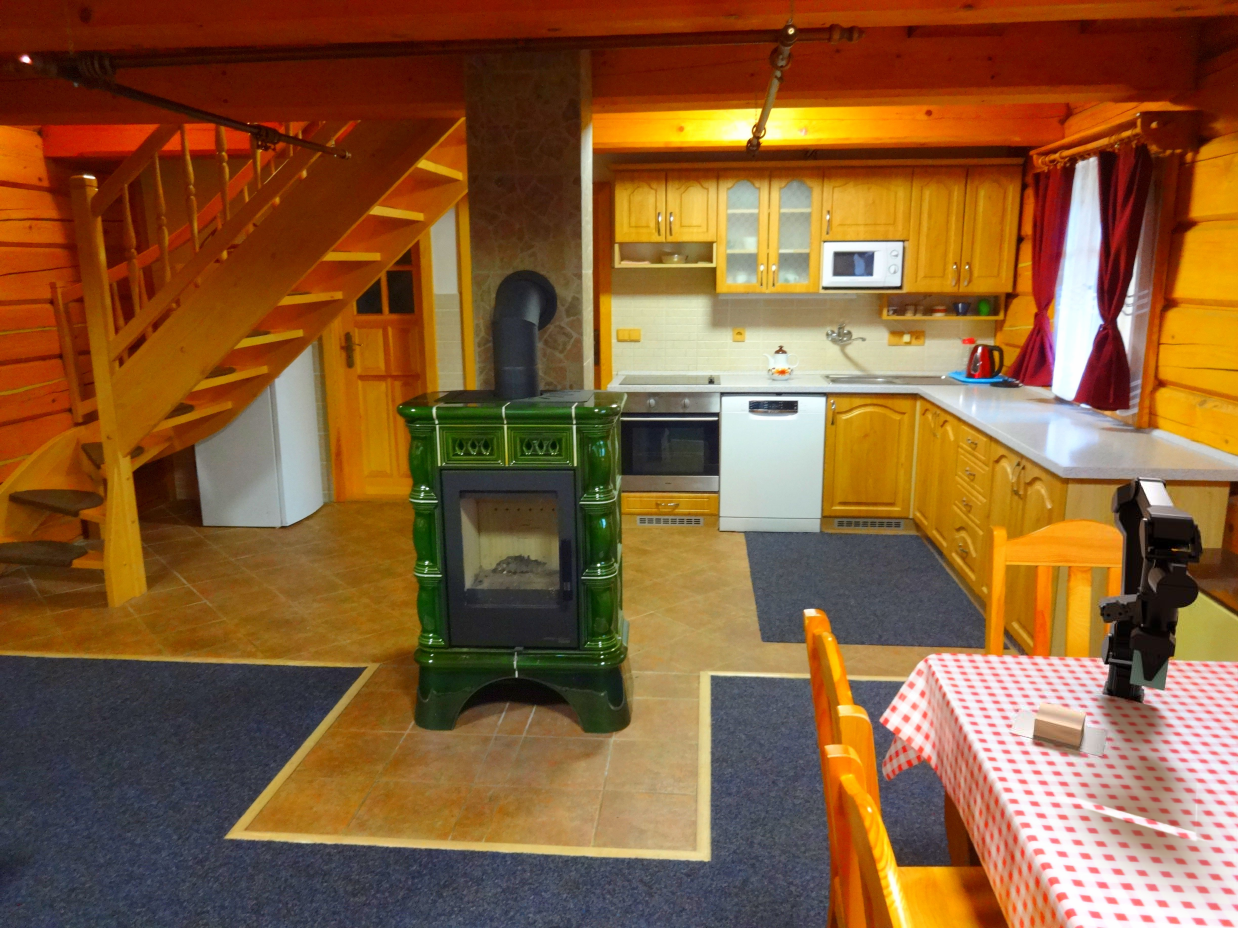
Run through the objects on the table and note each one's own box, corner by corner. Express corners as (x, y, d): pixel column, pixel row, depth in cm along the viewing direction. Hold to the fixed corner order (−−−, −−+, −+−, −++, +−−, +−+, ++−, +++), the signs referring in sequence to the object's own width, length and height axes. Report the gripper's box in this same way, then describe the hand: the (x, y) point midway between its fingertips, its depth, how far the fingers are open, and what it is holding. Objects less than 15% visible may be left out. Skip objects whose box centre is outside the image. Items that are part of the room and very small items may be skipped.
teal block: (1131, 672, 151) (1136, 639, 150) (1165, 679, 149) (1170, 646, 147) (1129, 683, 147) (1134, 650, 146) (1164, 690, 144) (1169, 657, 143)
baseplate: (1019, 711, 158) (1020, 708, 158) (1107, 733, 150) (1107, 730, 150) (1009, 735, 150) (1009, 732, 150) (1101, 759, 142) (1101, 756, 142)
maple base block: (1039, 717, 155) (1041, 701, 154) (1084, 728, 151) (1085, 712, 150) (1033, 734, 149) (1034, 718, 148) (1078, 746, 145) (1080, 729, 144)
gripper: (1110, 563, 156) (1100, 644, 160) (1099, 594, 141) (1088, 683, 144) (1183, 575, 150) (1171, 659, 154) (1181, 608, 135) (1167, 700, 138)
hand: (1148, 674), depth 148 cm, fingers closed on teal block, 5 cm apart
